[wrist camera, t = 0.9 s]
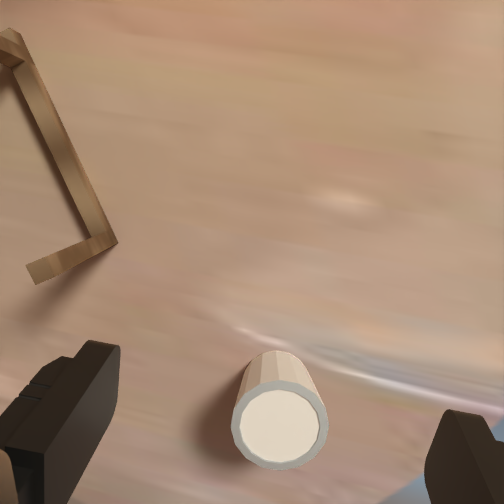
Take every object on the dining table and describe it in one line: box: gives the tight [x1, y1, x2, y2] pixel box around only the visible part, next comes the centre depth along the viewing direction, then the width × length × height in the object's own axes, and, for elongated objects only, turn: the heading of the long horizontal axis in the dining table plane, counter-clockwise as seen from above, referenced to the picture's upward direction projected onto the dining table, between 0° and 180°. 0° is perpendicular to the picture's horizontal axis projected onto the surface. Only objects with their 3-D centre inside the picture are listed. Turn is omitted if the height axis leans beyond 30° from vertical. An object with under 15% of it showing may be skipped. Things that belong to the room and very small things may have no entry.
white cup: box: [231, 350, 329, 471], centre depth 36 cm, size 7×7×7 cm
